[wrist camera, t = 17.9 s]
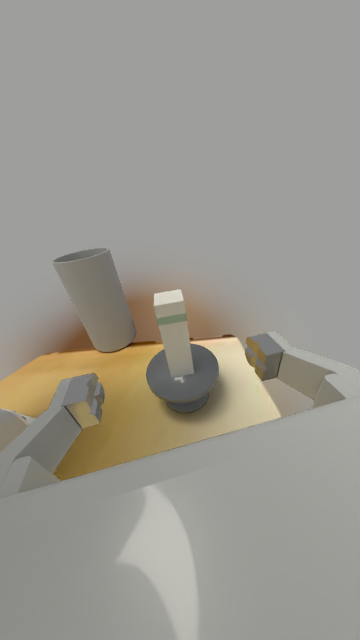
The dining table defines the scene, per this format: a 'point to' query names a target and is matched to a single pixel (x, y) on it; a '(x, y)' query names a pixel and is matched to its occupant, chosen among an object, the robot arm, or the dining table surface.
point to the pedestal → (184, 380)
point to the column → (174, 331)
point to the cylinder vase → (97, 297)
